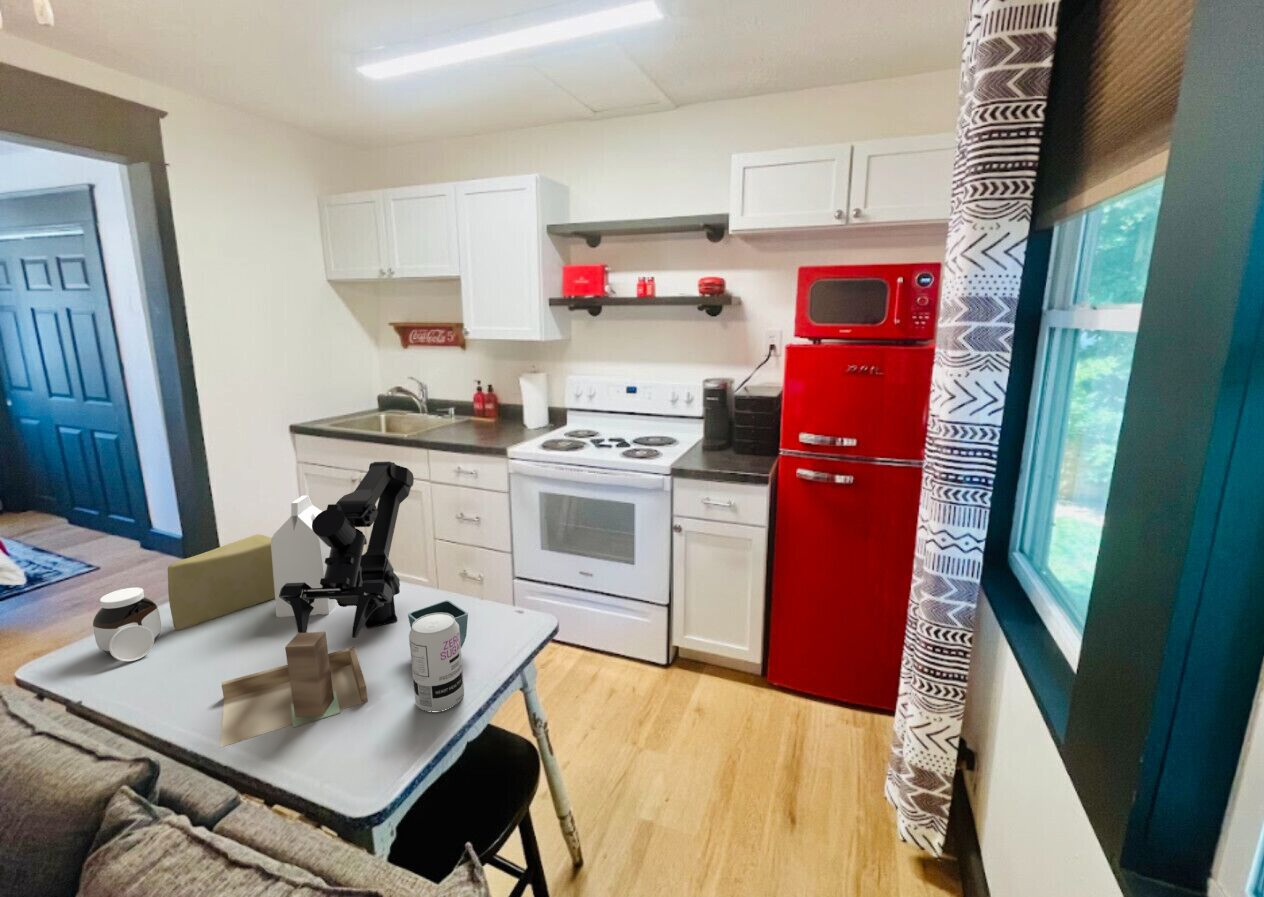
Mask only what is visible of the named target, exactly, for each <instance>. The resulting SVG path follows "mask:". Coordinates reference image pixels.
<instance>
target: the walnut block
mask: <svg viewBox="0 0 1264 897" xmlns="http://www.w3.org/2000/svg"><path fill="white" fill-rule="evenodd" d="M284 648H285V655H286V656H285V657H286V662H287V663H286V665H288V671H289V677H290V684H291V691H292V698H293V705H294V712H295V717H307V716H323V715H324V713H325V712H326V710H327V709H328V707H329V706H330V704H331V703H332V701H333V700H334V695H333V687H332V679H331V671H330V664H329V656H328V654H329V650H328V642H327V634H326V631H315V632H314V631H311V632H308V631H307V633H298V632H297V634H295V636H294V637H293V638H291V640H290V641H289V642H288V643H287V644H286V645H285V647H284Z"/></svg>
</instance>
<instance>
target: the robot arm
mask: <svg viewBox="0 0 1264 897" xmlns="http://www.w3.org/2000/svg"><path fill="white" fill-rule="evenodd" d="M414 480H415V478H414V474H413V472H412V471H411V470H410V469H409V468H408V467H405V466H402V465H398V464H396V462H392V461H389V460H388V461H374V462H371V463H370V464H369V467H368V471H367V472H366V474H365V475H364V476H363V478H362V479H361V480H360V482H359V484H358V486H357V487H356V488H355V490H353V491H352V492H350V493H347V494H345V495H343V496H342V497H340V499H338V500H337V502H336V503H335V504H334V503H332V504H327V506H326V509H325V510H321V511H322V512H321V513H319V514H318V515H317V516H316V518H315V519H314V520H313V522H312V530H313V531H314V533H315V534H316V535H317V536H318V537H319V538H320V539H321V540H322V541H323V542H324V543H325V544H326V545H327V546H328V547H331V551H330V555H329V558H326V559H325V564H326V565H327V568H326V572H325V577H324V578H321V580H320V584H321V585H322V588H311V587H310V586H309V585H307V584H306V583H286V584H285V585H284V586H283V587H282V588H281V590H280V594H279V598H281V599H282V600H284V601H285V602H286V603H288V604H289V605H291V606H292V609H293V612H294V615H295V616H294V619H295V624H296V629H297V634H298V633H308V628H309V627H308V626H309V621H310V616H311V615H310V613H311V611H312V610H313V609H314V607H313V606H311V604H312V603H313V602H314V600H315V599H320V598H329V599H336V600H337V603H338V604H337V605H338V606H339V607H342V608H346V607H351V606H352V607H356V608H355V614H354V618H353V624H352V630H351V631H352V633H351V637H352V638H353V639H357V637H358V636H359V634H360V632H361V631H362V629H363V627H364V626H365V628H366V629H371V628H374V627H378V626H382V625H387V624H390V623H393V622H396V621H398V616H397V614H396V606H395V598H394V596H396V595H399V594H400V593H401V592H400V591H401V590H400V586H401V584H400V581H401V580H400V578H399V576H398V575H397V574H396V573H395V572H394V570H395V569H394V567H393V565H392V563H391V561H390V559H389V557H390V551H391V546H392V543H393V538H394V533H395V528H396V523H397V520H398V514H399V509H400V505H401V504H402V503H403V502H404V501H405V500H406V499H407V498H408V497H409V496H410V492H411V489H412V487H413V486H414V482H415V481H414ZM377 502H378V503H377ZM376 504H377V505H376ZM369 527H371V532H370V537H369V540H367V537H366V535H365V534H364V533H363V532H364V531H361V530H360V529H359V528H369ZM367 543H368V544H367ZM365 545H367V549H366V551H365V553H364V554H363V552H364V546H365Z"/></svg>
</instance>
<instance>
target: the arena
mask: <svg viewBox="0 0 1264 897" xmlns="http://www.w3.org/2000/svg"><path fill="white" fill-rule="evenodd" d="M356 651H357V650H356V647H355V646H352V647H349V648H344V649H341V650H337V651H334V652H330V653H329V652H328V656H329V664H330V671H331V679H332V687H333V695H334V700H333V701H332V703H331V704H330V706H329V707H328V709H327V710H326V712H325V713H324V715H323V716H307V717H295V712H294V705H293V698H292V691H291V684H290V677H289V671H288V664H284V665H281V666H277V667H274V668H270V669H266V670H261V671H259V672H255V673H252V674H247V675H244V676H240V677H237V678H232V679H229V680H225V681H222V682H221V690H222V696H223V710H222V721H221V730H220V732H221V733H220V742H219V748H223V747H226V746H230V745H233V744H236V743H240V742H242V741H245V740H249V739H252V738H254V737H259V736H262V735H264V734H268V733H271V732H275V731H278V730H281V729H284V728H287V727H290V726H292V728H298V727H300V726H303V725H307V724H309V723H313V722H316V721H319V720H323V719H326V718H329V717H332V716H334V715H338V714H340V713H341V711H342V710H344V709H347V708H350V707H351V708H352V707H353V706H356V705H360V704H363V703H367V702H368V700H369V699H368V692H367V691H368V690H367V683H366V681H365V677H364V675H363V671H362V668H361V665H360V661H359V658H358V654H357V652H356Z"/></svg>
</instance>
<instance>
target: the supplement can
mask: <svg viewBox="0 0 1264 897" xmlns="http://www.w3.org/2000/svg"><path fill="white" fill-rule="evenodd" d="M408 640H409V650H410V660H411V671H412V680H413V690H414V701H415V704H416V706H417V708H419V709H420V710H422V711H424V710H425V711H424V712H426V711H431V712H432V711H442V710H445V709H448V708H450V707H452V706H454V705H455V704H456V705H457V704H459V702H461V701H462V699H463V697H464V694H465V684H464V675H463V674H464V673H463V658H462V648H461V645H460V632H459V625H458V623H457V622H456V621H455V618H454V617H453V615H451V614H448V613H432V614H427V615H425V616H422V617H420V618H418V619H417V620H415V621H414V623H413V625H412V628H411V627H410V630H409V634H408ZM456 705H455V706H456ZM455 706H454V707H455ZM452 708H453V707H452ZM450 709H451V708H450ZM448 710H449V709H448ZM431 712H430V713H431ZM442 712H443V711H442Z"/></svg>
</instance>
